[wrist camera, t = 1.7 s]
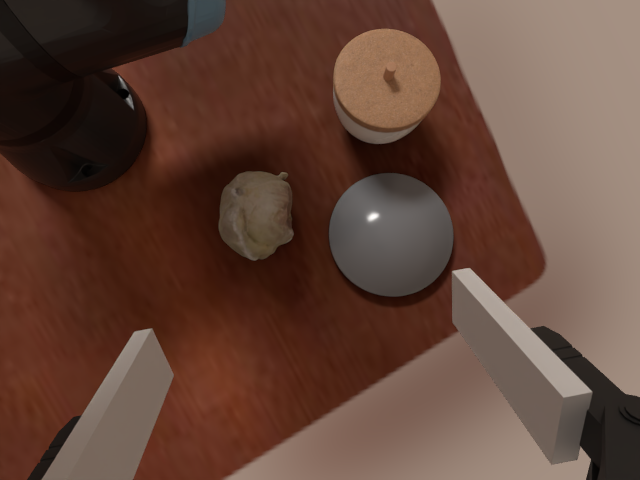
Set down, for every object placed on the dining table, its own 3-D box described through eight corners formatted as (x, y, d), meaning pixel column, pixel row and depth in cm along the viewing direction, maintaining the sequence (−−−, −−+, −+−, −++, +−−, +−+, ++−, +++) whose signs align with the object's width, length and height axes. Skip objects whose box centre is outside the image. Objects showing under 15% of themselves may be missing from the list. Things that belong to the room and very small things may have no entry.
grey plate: (311, 272, 39) (311, 272, 38) (350, 160, 41) (351, 156, 40) (429, 313, 39) (433, 314, 38) (463, 198, 41) (467, 196, 40)
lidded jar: (429, 144, 42) (463, 104, 32) (343, 168, 41) (353, 133, 32) (401, 65, 43) (426, 3, 33) (318, 86, 42) (320, 29, 33)
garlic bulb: (263, 261, 42) (234, 289, 32) (217, 206, 41) (173, 217, 31) (324, 213, 40) (312, 226, 30) (277, 154, 39) (249, 148, 29)
